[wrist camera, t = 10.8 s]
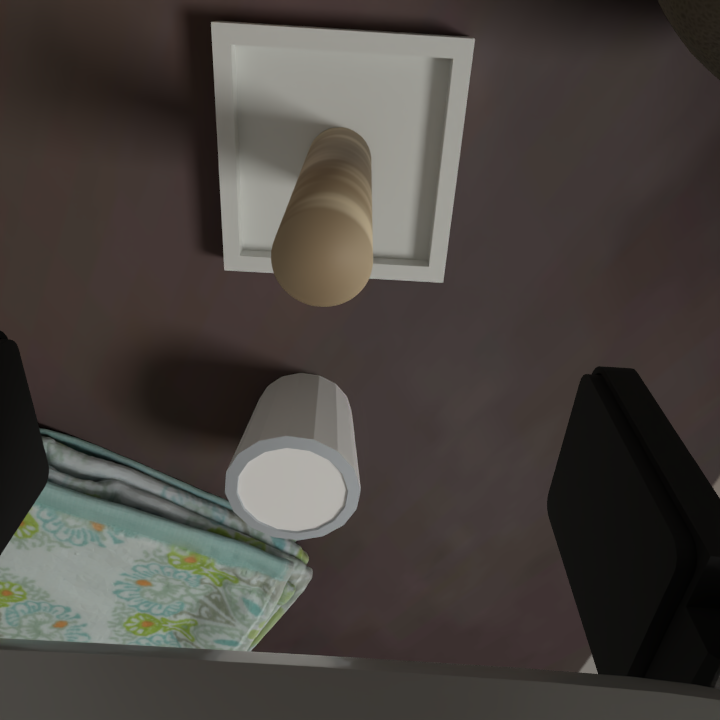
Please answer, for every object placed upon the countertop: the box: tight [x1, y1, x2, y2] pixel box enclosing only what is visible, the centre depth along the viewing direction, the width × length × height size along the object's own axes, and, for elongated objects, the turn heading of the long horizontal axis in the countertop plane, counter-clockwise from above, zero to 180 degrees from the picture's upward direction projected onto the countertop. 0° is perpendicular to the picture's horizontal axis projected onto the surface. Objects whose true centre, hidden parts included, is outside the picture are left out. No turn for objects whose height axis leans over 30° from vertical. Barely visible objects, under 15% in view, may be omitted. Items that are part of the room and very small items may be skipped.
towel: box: [0, 428, 313, 652], centre depth 42 cm, size 18×21×5 cm
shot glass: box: [225, 373, 361, 540], centre depth 35 cm, size 7×7×7 cm
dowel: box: [271, 127, 373, 307], centre depth 24 cm, size 3×3×13 cm
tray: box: [211, 21, 475, 283], centre depth 30 cm, size 11×11×2 cm
